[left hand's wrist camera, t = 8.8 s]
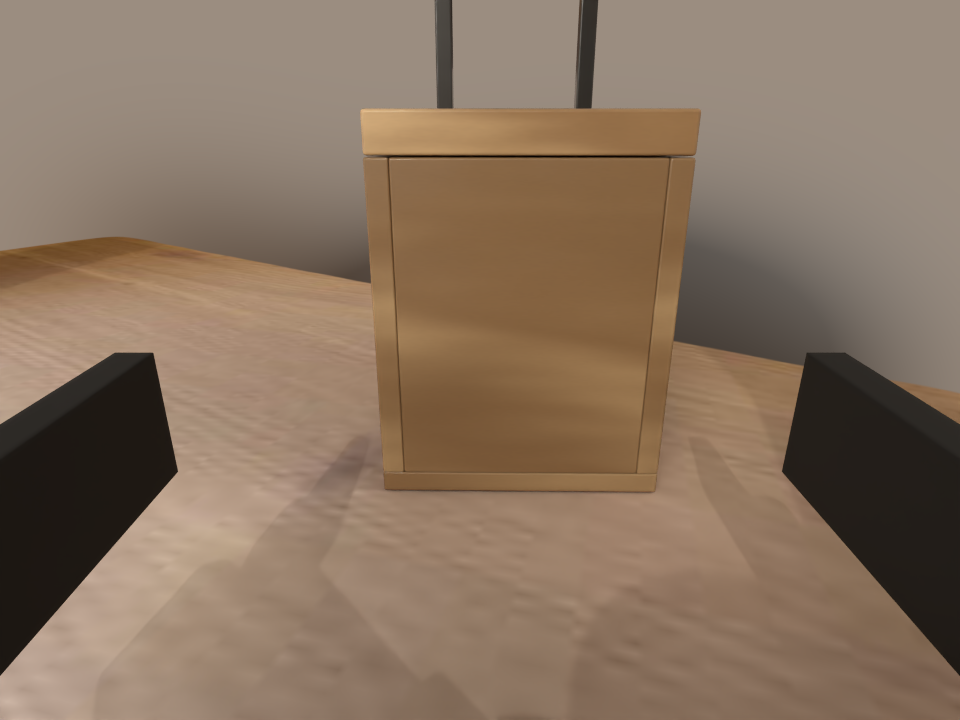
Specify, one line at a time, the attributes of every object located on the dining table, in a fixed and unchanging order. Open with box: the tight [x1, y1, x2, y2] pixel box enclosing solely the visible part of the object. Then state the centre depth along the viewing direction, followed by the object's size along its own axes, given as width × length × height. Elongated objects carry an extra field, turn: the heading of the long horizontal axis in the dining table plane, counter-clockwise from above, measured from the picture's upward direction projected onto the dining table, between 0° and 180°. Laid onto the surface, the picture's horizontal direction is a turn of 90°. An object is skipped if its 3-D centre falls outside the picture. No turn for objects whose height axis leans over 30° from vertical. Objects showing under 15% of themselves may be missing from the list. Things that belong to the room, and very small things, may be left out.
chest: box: [363, 155, 695, 492], centre depth 25 cm, size 14×9×11 cm, turn 179°
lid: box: [360, 0, 701, 156], centre depth 22 cm, size 15×9×9 cm, turn 179°
